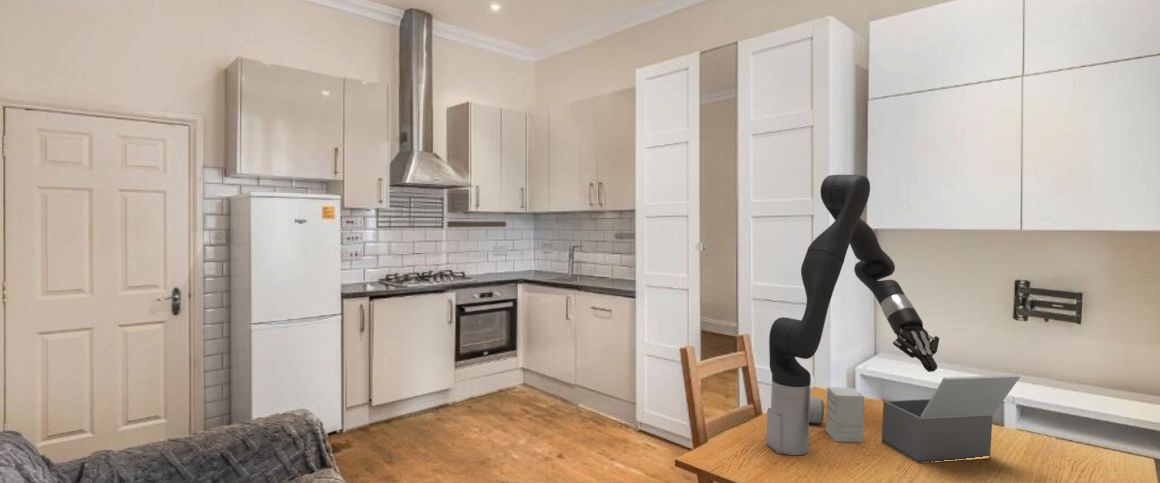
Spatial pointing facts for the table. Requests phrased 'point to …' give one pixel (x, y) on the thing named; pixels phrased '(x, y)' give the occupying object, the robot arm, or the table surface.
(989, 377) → the lid
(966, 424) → the storage box
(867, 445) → the table surface
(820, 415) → the ceramic mug
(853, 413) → the supplement box
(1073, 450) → the table surface
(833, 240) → the robot arm
